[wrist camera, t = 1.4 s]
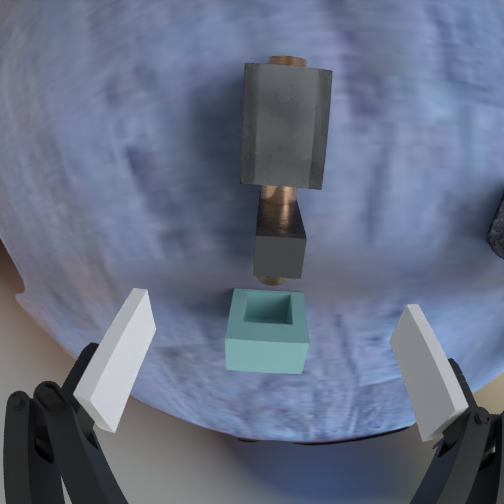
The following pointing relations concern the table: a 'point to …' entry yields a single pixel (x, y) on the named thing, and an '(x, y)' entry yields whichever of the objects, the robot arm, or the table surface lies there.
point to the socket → (267, 332)
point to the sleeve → (285, 125)
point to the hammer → (279, 224)
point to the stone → (497, 232)
